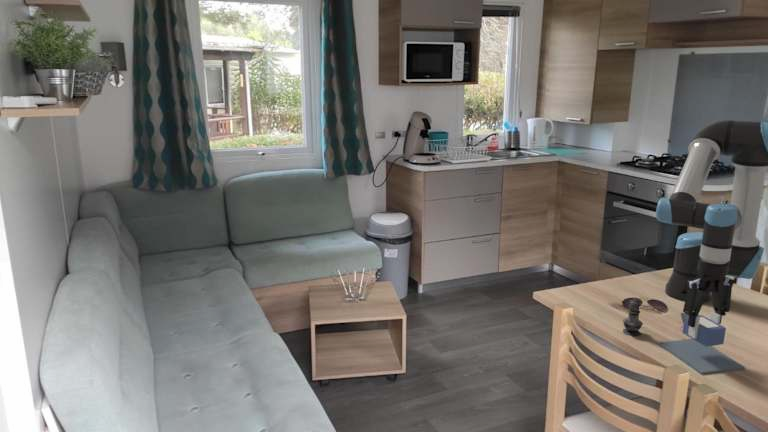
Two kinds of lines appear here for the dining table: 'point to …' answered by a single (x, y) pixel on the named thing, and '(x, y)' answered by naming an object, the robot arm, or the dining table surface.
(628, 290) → the dining table surface
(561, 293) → the dining table surface
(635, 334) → the salt shaker
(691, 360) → the mat
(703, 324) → the card deck
